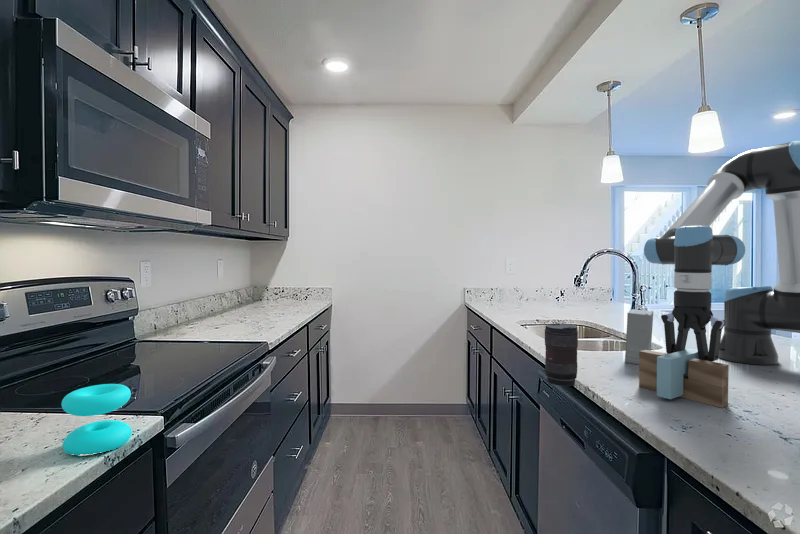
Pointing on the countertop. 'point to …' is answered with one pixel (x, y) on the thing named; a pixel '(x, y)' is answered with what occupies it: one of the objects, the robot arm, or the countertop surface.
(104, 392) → the donuts
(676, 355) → the light blue notched block
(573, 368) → the camera lens
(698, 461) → the countertop surface
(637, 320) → the skincare box
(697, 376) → the walnut notched block
